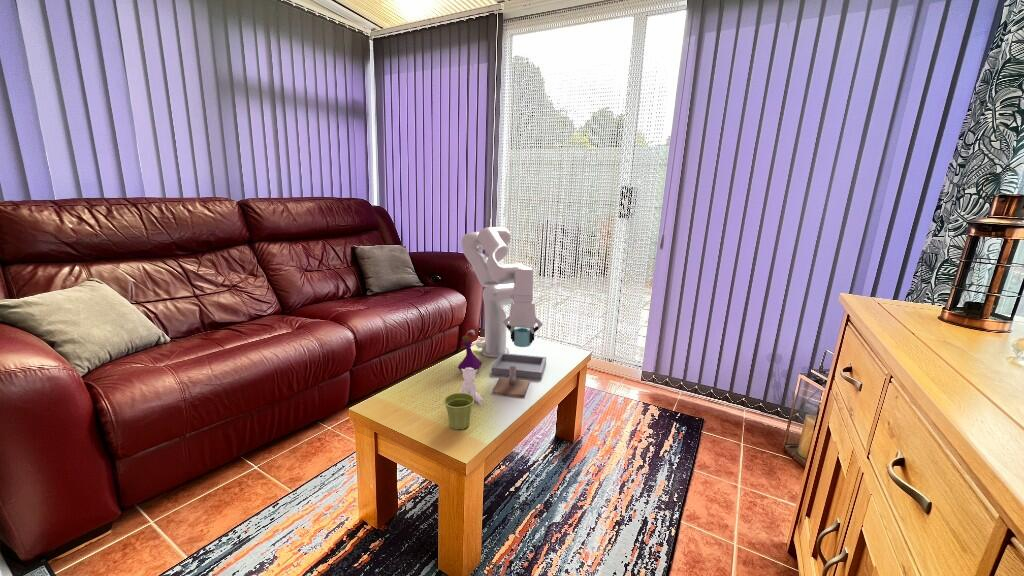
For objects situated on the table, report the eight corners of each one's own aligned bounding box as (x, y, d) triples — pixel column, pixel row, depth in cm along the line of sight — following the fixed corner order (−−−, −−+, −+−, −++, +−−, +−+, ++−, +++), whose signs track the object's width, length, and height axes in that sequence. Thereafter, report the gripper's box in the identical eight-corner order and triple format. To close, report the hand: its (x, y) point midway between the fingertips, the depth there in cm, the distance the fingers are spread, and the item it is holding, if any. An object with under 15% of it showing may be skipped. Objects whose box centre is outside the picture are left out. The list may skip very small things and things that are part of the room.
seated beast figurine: (455, 407, 141) (455, 374, 138) (454, 395, 149) (453, 364, 146) (483, 405, 143) (483, 372, 140) (480, 393, 151) (480, 362, 148)
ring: (512, 346, 165) (512, 331, 163) (516, 339, 172) (516, 325, 171) (529, 347, 163) (529, 333, 162) (532, 340, 171) (532, 326, 170)
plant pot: (442, 433, 125) (442, 407, 124) (445, 417, 135) (445, 392, 133) (473, 433, 126) (473, 407, 124) (474, 416, 135) (474, 392, 133)
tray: (491, 374, 166) (491, 367, 166) (500, 359, 182) (500, 352, 181) (541, 379, 163) (541, 372, 162) (546, 363, 178) (546, 357, 177)
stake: (491, 394, 150) (491, 374, 149) (499, 379, 162) (499, 361, 160) (524, 397, 148) (524, 378, 146) (529, 383, 160) (530, 364, 158)
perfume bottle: (457, 374, 166) (456, 331, 162) (466, 367, 173) (465, 326, 169) (474, 377, 163) (473, 334, 159) (482, 370, 170) (482, 328, 166)
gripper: (499, 299, 161) (499, 343, 165) (543, 301, 158) (542, 346, 162) (503, 294, 168) (503, 336, 172) (546, 297, 165) (544, 340, 169)
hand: (522, 341), depth 167 cm, fingers closed on ring, 6 cm apart
